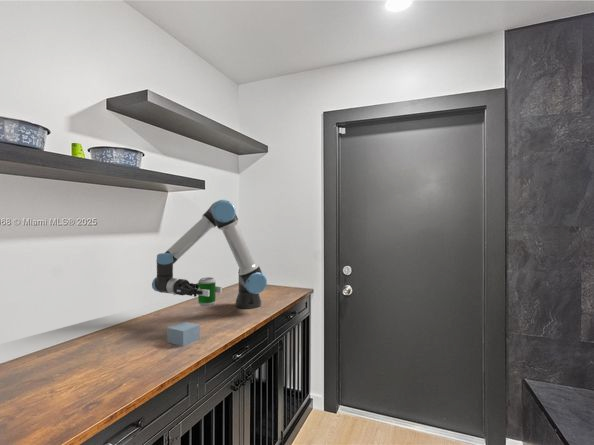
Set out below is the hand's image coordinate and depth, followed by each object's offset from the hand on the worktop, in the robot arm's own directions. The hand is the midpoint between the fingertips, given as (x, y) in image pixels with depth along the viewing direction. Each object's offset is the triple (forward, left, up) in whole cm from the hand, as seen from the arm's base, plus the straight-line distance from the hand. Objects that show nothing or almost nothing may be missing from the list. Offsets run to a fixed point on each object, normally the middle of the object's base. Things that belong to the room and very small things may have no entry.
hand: (215, 291), depth 142 cm
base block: (+15, -4, -18) cm, 24 cm away
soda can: (0, -5, -7) cm, 8 cm away
